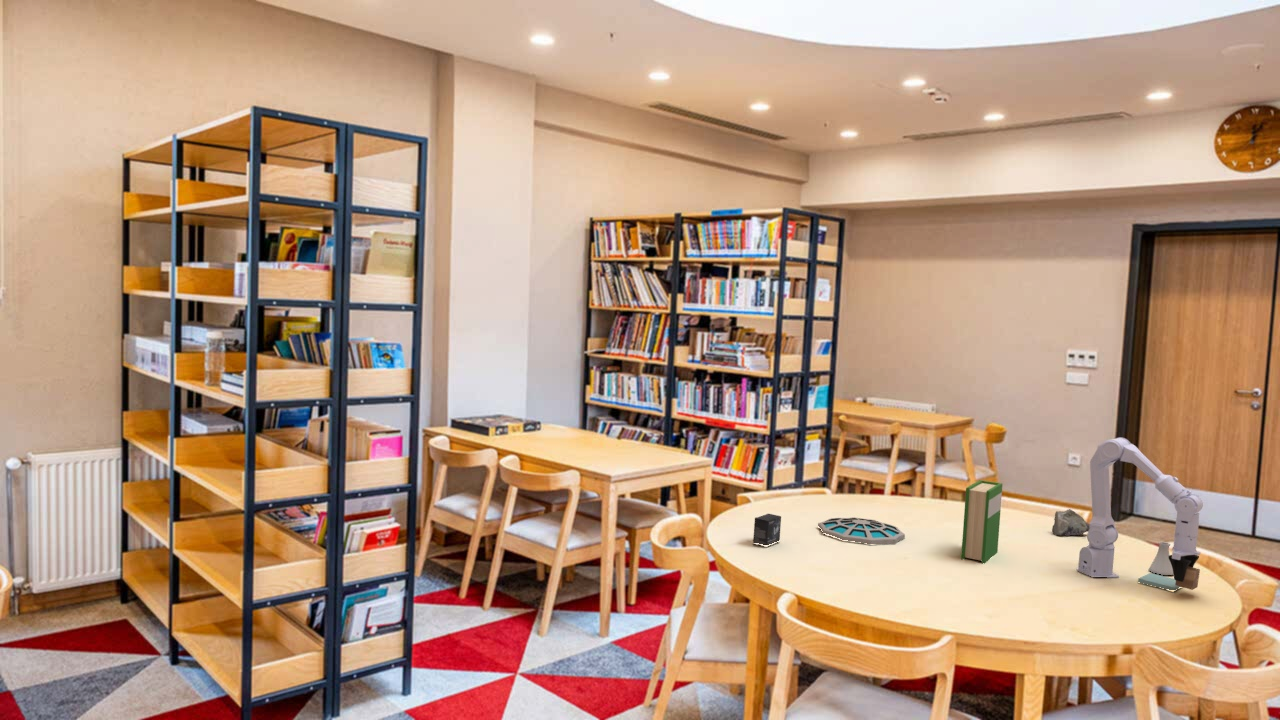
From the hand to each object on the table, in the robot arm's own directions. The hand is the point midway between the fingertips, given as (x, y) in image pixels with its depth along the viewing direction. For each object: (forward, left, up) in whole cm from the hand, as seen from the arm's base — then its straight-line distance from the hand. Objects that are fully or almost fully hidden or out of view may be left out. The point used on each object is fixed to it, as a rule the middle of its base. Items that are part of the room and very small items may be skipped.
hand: (1181, 579), depth 256 cm
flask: (+11, +19, -5) cm, 23 cm away
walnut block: (+1, -1, -2) cm, 2 cm away
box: (-111, +56, -5) cm, 125 cm away
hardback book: (-41, +40, -5) cm, 58 cm away
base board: (+1, +8, -5) cm, 10 cm away
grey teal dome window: (-71, +68, -5) cm, 99 cm away
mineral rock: (+12, +64, -5) cm, 65 cm away
